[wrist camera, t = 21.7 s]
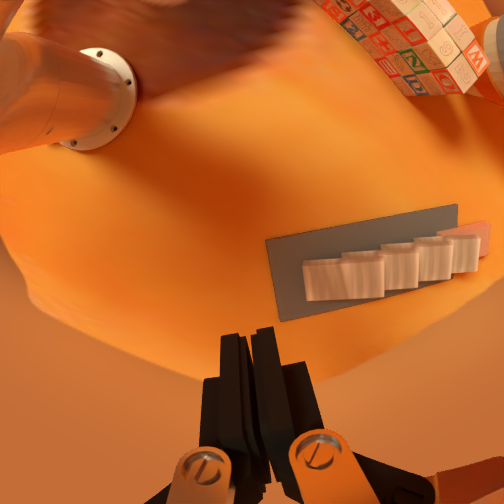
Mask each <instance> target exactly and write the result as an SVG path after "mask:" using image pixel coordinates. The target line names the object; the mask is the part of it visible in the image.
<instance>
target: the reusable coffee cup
mask: <svg viewBox="0 0 504 504" xmlns="http://www.w3.org/2000/svg"><path fill="white" fill-rule="evenodd" d="M469 29H470V30H471V32H472V33H473V35H474V36H475V38H474V39H476V41H477V42H478V44H479V45H480V47H481V48H482V50H483V51H484V53H485V54H486V56H487V58H488V59H489V61H490V64H489V66H488V67H487V68H486V69H485V70H484V72H483V73H482V74H481V75H480V76H479V77H477V78H478V79H477V80H476V81H475V82H474V83H473V84H472V86H471V87H470V88H469V89H468V90H467V91H466V92H465V93H467V94H469V95H472V96H477V97H482V98H485V99H487V100H489V101H490V102H492V103H496V104H499V105H503V106H504V13H503V15H502V16H494V17H491V18H489V19H487V20H485V21H483V22H480V23H478V24H476V25H474V26H472V27H470V28H469Z"/></svg>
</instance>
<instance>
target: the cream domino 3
mask: <svg viewBox="0 0 504 504" xmlns="http://www.w3.org/2000/svg"><path fill="white" fill-rule="evenodd" d="M415 247H417V249H418V251H419V276H418V281H432V280H446V279H451V269H452V258H453V244H452V242H451V241H450V240H449V241H431V242H413V243H396V244H380V250H387V249H401V248H415Z"/></svg>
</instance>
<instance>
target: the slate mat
mask: <svg viewBox="0 0 504 504" xmlns="http://www.w3.org/2000/svg"><path fill="white" fill-rule="evenodd" d="M457 213H458V204H452V205H447V206H441V207H436V208H431V209H425V210H420V211H414V212H409V213H404V214H398V215H393V216H388V217H383V218H377V219H372V220H367V221H361V222H356V223H351V224H346V225H341V226H335V227H330V228H325V229H320V230H315V231H310V232H304V233H299V234H294V235H289V236H284V237H279V238H274V239H269V240H265V241H266V246H267V252H268V257H269V262H270V268H271V273H272V279H273V285H274V290H275V296H276V301H277V307H278V312H279V318H280V322H283V321H288V320H292V319H297V318H302V317H307V316H311V315H316V314H320V313H325V312H329V311H333V310H338V309H342V308H346V307H350V306H354V305H359V304H363V303H367V302H371V301H375V300H378V299H382V298H386V297H390V296H394V295H397V294H401V293H405V292H408V291H412V290H416V289H419V288H423V287H426V286H430V285H433V284H436V283H440V282H443V281H447V280H450V279H446V280H432V281H418V288H407V289H394V290H384V297H378V298H361V299H342V300H319V301H307V299H306V291H305V284H304V276H303V268H302V265H303V262H304V260H320V259H337V258H341V257H342V253H344V252H359V251H373V250H380V244H396V243H413V238H419V237H436V236H437V232H439V231H443V230H448V229H452V228H457ZM453 274H454V273H451V279H453Z"/></svg>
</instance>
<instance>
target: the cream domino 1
mask: <svg viewBox="0 0 504 504" xmlns="http://www.w3.org/2000/svg"><path fill="white" fill-rule="evenodd" d="M302 268H303V276H304V284H305V291H306V299H307V301H319V300H342V299H361V298H378V297H384V258H383V256H368V257H352V258H337V259H320V260H304V262H303V265H302Z"/></svg>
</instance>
